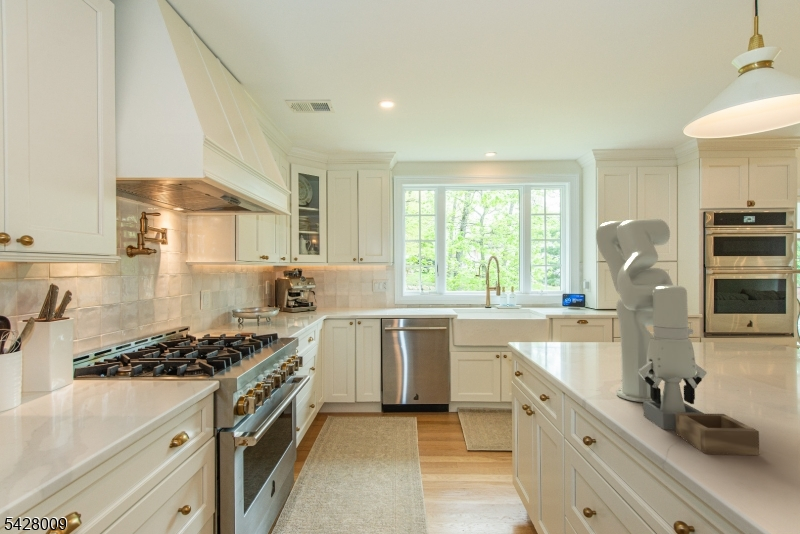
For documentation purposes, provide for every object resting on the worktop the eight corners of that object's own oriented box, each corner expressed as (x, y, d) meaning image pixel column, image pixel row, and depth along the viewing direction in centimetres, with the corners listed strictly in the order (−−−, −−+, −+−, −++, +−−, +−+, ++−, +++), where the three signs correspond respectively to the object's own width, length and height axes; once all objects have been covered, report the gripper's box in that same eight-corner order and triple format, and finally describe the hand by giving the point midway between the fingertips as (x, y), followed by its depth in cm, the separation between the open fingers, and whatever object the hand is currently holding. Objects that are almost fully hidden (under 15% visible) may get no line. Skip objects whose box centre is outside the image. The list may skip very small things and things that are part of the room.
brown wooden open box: (676, 434, 99) (675, 413, 99) (724, 434, 98) (723, 413, 98) (705, 454, 88) (704, 430, 88) (759, 455, 87) (758, 431, 87)
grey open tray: (643, 415, 112) (643, 401, 112) (681, 416, 111) (681, 401, 111) (663, 429, 102) (663, 413, 102) (705, 430, 101) (705, 413, 101)
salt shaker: (676, 418, 109) (674, 369, 109) (692, 426, 103) (690, 374, 104) (654, 419, 109) (653, 369, 109) (669, 427, 103) (668, 375, 103)
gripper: (697, 331, 110) (699, 398, 109) (628, 331, 111) (630, 397, 111) (716, 335, 102) (718, 407, 102) (642, 336, 104) (644, 406, 103)
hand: (672, 401), depth 106 cm, fingers open, 7 cm apart
